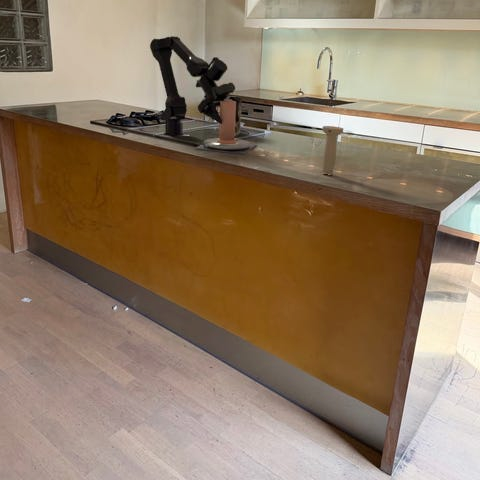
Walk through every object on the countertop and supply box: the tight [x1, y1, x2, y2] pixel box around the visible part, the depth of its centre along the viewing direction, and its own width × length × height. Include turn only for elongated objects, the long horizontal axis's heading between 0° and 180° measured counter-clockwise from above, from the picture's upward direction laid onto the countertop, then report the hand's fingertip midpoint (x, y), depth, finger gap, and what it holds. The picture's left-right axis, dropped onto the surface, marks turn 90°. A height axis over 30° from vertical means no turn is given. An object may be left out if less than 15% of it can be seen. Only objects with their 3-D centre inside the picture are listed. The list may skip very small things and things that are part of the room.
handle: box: [321, 125, 344, 175], centre depth 152 cm, size 5×6×15 cm
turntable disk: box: [203, 137, 250, 150], centre depth 187 cm, size 18×18×1 cm
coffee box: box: [225, 95, 243, 137], centre depth 212 cm, size 9×6×16 cm
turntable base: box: [194, 142, 257, 156], centre depth 188 cm, size 19×19×1 cm
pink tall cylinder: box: [216, 99, 237, 144], centre depth 184 cm, size 8×8×16 cm
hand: (230, 122), depth 183 cm, fingers open, 9 cm apart
